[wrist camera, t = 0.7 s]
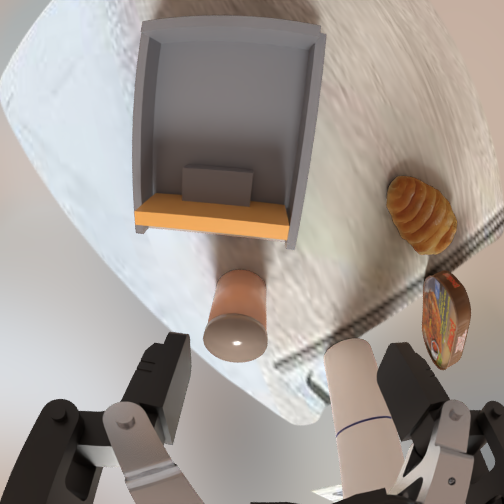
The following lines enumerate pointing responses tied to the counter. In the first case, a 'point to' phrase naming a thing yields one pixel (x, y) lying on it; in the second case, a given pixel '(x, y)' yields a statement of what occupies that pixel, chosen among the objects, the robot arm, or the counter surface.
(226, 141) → the lane
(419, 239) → the pastry
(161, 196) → the pusher
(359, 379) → the cylindrical container
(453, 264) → the counter surface
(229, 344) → the jar
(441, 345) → the tin
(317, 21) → the counter surface
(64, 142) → the counter surface
